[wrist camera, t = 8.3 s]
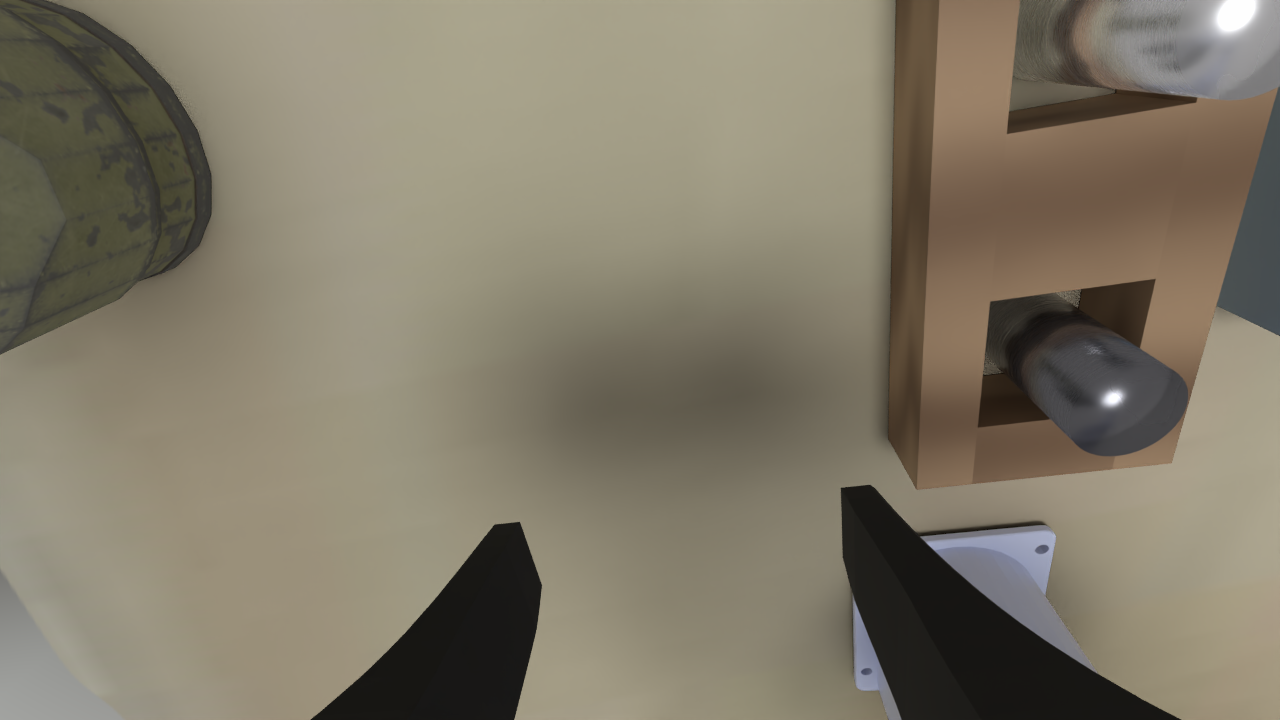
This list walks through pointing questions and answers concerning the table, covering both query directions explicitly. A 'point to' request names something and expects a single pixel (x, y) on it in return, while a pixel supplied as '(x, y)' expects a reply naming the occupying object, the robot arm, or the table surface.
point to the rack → (1042, 236)
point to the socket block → (1258, 241)
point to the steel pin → (1152, 45)
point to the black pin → (1084, 374)
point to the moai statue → (87, 170)
